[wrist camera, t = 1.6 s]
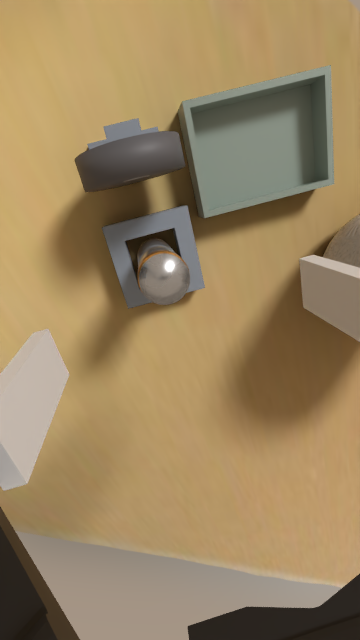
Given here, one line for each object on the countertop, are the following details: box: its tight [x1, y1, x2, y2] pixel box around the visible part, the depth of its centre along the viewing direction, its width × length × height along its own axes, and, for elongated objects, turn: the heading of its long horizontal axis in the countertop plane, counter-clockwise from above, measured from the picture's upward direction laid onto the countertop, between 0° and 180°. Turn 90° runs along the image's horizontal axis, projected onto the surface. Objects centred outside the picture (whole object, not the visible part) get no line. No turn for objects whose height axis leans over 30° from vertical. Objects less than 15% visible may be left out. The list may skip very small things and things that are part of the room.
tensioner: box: [75, 118, 205, 309], centre depth 28 cm, size 9×17×10 cm, turn 14°
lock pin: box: [137, 238, 190, 305], centre depth 28 cm, size 4×4×12 cm
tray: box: [178, 65, 334, 218], centre depth 30 cm, size 14×10×3 cm
